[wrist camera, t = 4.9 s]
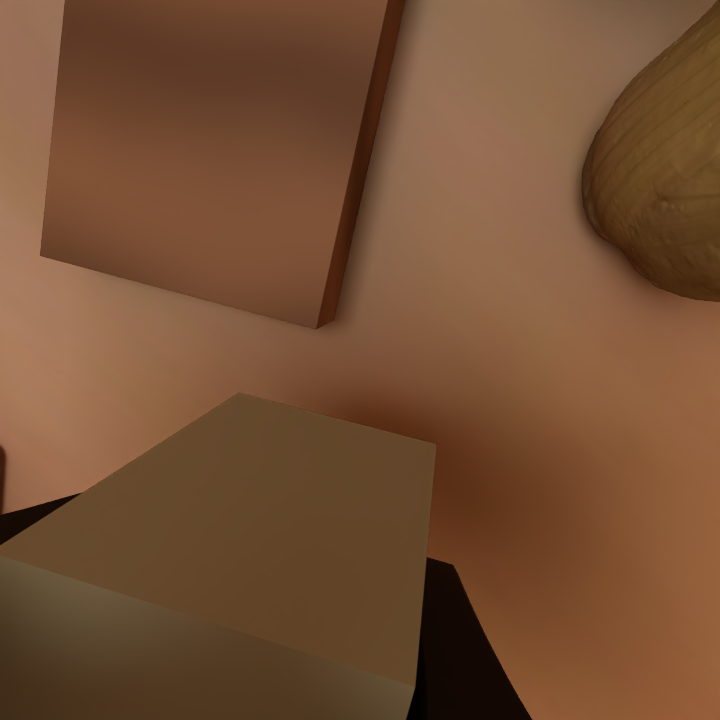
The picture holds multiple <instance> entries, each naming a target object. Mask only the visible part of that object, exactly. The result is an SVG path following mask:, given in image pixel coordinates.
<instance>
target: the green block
mask: <svg viewBox="0 0 720 720" xmlns="http://www.w3.org/2000/svg"><path fill="white" fill-rule="evenodd" d="M436 446H437V444H434V443H430V442H426V441H422V440H418V439H414V438H411V437H407V436H403V435H399V434H395V433H391V432H388V431H384V430H380V429H376V428H372V427H368V426H365V425H361V424H357V423H353V422H349V421H346V420H342V419H338V418H334V417H330V416H326V415H323V414H319V413H315V412H311V411H307V410H303V409H300V408H296V407H292V406H288V405H284V404H281V403H277V402H273V401H269V400H265V399H261V398H258V397H254V396H250V395H246V394H242V393H238V394H236V395H235V396H233V397H232V398H230V399H228V400H227V401H225V402H224V403H222V404H221V405H219V406H217V407H216V408H214V409H213V410H211V411H210V412H208V413H207V414H205V415H203V416H202V417H200V418H199V419H197V420H196V421H194V422H192V423H191V424H189V425H188V426H186V427H185V428H183V429H182V430H180V431H178V432H177V433H175V434H174V435H172V436H171V437H169V438H167V439H166V440H164V441H163V442H161V443H160V444H158V445H156V446H155V447H153V448H152V449H150V450H149V451H147V452H146V453H144V454H142V455H141V456H139V457H138V458H136V459H135V460H133V461H131V462H130V463H128V464H127V465H125V466H124V467H122V468H121V469H119V470H117V471H116V472H114V473H113V474H111V475H110V476H108V477H106V478H105V479H103V480H102V481H100V482H99V483H97V484H96V485H94V486H92V487H91V488H89V489H88V490H86V491H85V492H83V493H81V494H80V495H78V496H77V497H75V498H74V499H72V500H71V501H69V502H67V503H66V504H64V505H63V506H61V507H60V508H58V509H56V510H55V511H53V512H52V513H50V514H49V515H47V516H46V517H44V518H42V519H41V520H39V521H38V522H36V523H35V524H33V525H31V526H30V527H28V528H27V529H25V530H24V531H22V532H21V533H19V534H17V535H16V536H14V537H13V538H11V539H10V540H8V541H6V542H5V543H3V544H2V545H0V720H406V718H407V714H408V711H409V707H410V704H411V700H412V697H413V693H414V689H415V683H416V672H417V661H418V649H419V638H420V627H421V615H422V604H423V593H424V581H425V570H426V559H427V548H428V536H429V525H430V514H431V502H432V491H433V480H434V468H435V457H436Z"/></svg>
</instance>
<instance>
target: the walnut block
mask: <svg viewBox="0 0 720 720" xmlns="http://www.w3.org/2000/svg"><path fill="white" fill-rule="evenodd" d="M404 5H405V0H65V4H64V15H63V25H62V35H61V45H60V56H59V66H58V76H57V86H56V97H55V107H54V117H53V127H52V138H51V148H50V158H49V168H48V179H47V189H46V199H45V209H44V220H43V230H42V240H41V250H40V256H42V257H46V258H50V259H54V260H57V261H61V262H65V263H69V264H72V265H76V266H80V267H84V268H87V269H91V270H95V271H99V272H102V273H106V274H110V275H114V276H117V277H121V278H125V279H129V280H132V281H136V282H140V283H144V284H147V285H151V286H155V287H159V288H162V289H166V290H170V291H174V292H177V293H181V294H185V295H189V296H192V297H196V298H200V299H204V300H207V301H211V302H215V303H219V304H222V305H226V306H230V307H234V308H237V309H241V310H245V311H249V312H252V313H256V314H260V315H264V316H267V317H271V318H275V319H279V320H282V321H286V322H290V323H294V324H297V325H301V326H305V327H309V328H312V329H318V328H319V327H321V326H323V325H325V324H327V323H329V322H331V321H333V320H334V316H335V312H336V307H337V303H338V298H339V294H340V289H341V285H342V280H343V276H344V272H345V267H346V263H347V258H348V254H349V249H350V245H351V240H352V236H353V232H354V227H355V223H356V218H357V214H358V209H359V205H360V200H361V196H362V192H363V187H364V183H365V178H366V174H367V169H368V165H369V160H370V156H371V152H372V147H373V143H374V138H375V134H376V129H377V125H378V120H379V116H380V112H381V107H382V103H383V98H384V94H385V89H386V85H387V80H388V76H389V72H390V67H391V63H392V58H393V54H394V49H395V45H396V40H397V36H398V32H399V27H400V23H401V18H402V14H403V9H404Z"/></svg>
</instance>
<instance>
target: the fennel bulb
mask: <svg viewBox="0 0 720 720" xmlns="http://www.w3.org/2000/svg"><path fill="white" fill-rule="evenodd" d="M582 195H583V206H584V209H585V212H586V215H587V218H588V220H589V221H590V223H591V225H592V226H593V228H594V229H595V231H596V233H597V234H598V235H599V236H601V237H602V238H603V239H605V240H607V241H608V242H610V243H612V244H614V245H616V246H617V247H619V248H620V249H621V250H622V251H623V252H624V253H625V254H626V256H627V258H628V259H629V260H630V262H631V264H632V265H633V267H634V268H635V269H636V270H637V271H638V272H639V273H640V274H641V275H642V276H644V277H645V278H647V279H648V280H650V281H651V282H652V283H653V285H654V286H656V287H658V288H661V289H664V290H666V291H669V292H672V293H674V294H677V295H679V296H683V297H687V298H690V299H695V300H704V301H714V302H720V0H718V1H716V2H715V4H714V5H713V7H712V8H710V9H709V11H708V12H707V13H706V14H705V15H703V16H702V17H701V19H700V20H699V21H698V22H696V23H695V24H694V25H692V26H691V27H690V28H689V29H688V30H687V31H686V32H685V33H684V35H683V36H682V37H681V38H680V39H678V40H677V41H676V42H674V43H673V44H672V45H671V46H670V47H669V48H667V49H666V50H665V51H663V52H662V53H661V54H660V55H659V56H658V57H656V58H655V59H654V60H653V61H652V62H650V63H649V65H648V66H646V67H645V68H644V69H643V70H642V71H641V72H639V73H638V74H637V75H636V77H634V78H633V80H632V81H631V82H630V83H629V84H628V85H627V86H626V88H625V89H624V91H623V92H622V93H621V95H620V96H619V97H618V99H617V100H616V101H615V103H614V105H613V107H612V108H611V110H610V112H609V114H608V116H607V117H606V119H605V121H604V123H603V125H602V126H601V127H600V129H599V130H598V132H597V133H596V135H595V138H594V140H593V142H592V144H591V146H590V148H589V151H588V154H587V157H586V161H585V164H584V167H583V172H582Z"/></svg>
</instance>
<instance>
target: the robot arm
mask: <svg viewBox="0 0 720 720" xmlns="http://www.w3.org/2000/svg"><path fill="white" fill-rule="evenodd" d="M80 494H81V493H79V494H75V495H72V496H68V497H65V498H61V499H58V500H54V501H51V502H47V503H44V504H40V505H36V506H33V507H29V508H26V509H22V510H18V511H14V512H10V513H6V514H2V515H0V545H2V544H3V543H5V542H6V541H8V540H10V539H11V538H13V537H14V536H16V535H17V534H19V533H21V532H22V531H24V530H25V529H27V528H28V527H30V526H31V525H33V524H35V523H36V522H38V521H39V520H41V519H42V518H44V517H46V516H47V515H49V514H50V513H52V512H53V511H55V510H56V509H58V508H60V507H61V506H63V505H64V504H66V503H67V502H69V501H71V500H72V499H74V498H75V497H77V496H78V495H80ZM406 720H532V719H531V717H530V715H529V714H528V712H527V710H526V709H525V707H524V705H523V704H522V702H521V700H520V698H519V697H518V695H517V693H516V691H515V690H514V688H513V686H512V684H511V683H510V681H509V679H508V677H507V675H506V674H505V672H504V670H503V668H502V666H501V664H500V662H499V660H498V658H497V656H496V654H495V652H494V651H493V649H492V647H491V645H490V643H489V641H488V639H487V637H486V635H485V633H484V631H483V629H482V627H481V625H480V623H479V620H478V618H477V616H476V614H475V612H474V610H473V607H472V605H471V603H470V601H469V599H468V596H467V594H466V592H465V589H464V587H463V585H462V582H461V580H460V578H459V575H458V573H457V571H456V569H455V568H454V566H453V565H452V564H448V563H445V562H441V561H438V560H434V559H431V558H428V557H427V559H426V570H425V581H424V593H423V604H422V615H421V627H420V638H419V649H418V661H417V672H416V683H415V689H414V693H413V697H412V700H411V704H410V707H409V711H408V714H407V718H406Z"/></svg>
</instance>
